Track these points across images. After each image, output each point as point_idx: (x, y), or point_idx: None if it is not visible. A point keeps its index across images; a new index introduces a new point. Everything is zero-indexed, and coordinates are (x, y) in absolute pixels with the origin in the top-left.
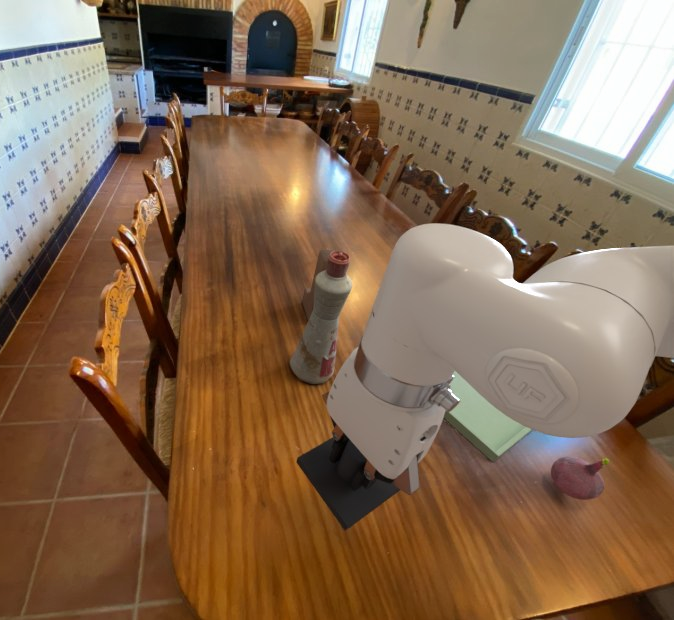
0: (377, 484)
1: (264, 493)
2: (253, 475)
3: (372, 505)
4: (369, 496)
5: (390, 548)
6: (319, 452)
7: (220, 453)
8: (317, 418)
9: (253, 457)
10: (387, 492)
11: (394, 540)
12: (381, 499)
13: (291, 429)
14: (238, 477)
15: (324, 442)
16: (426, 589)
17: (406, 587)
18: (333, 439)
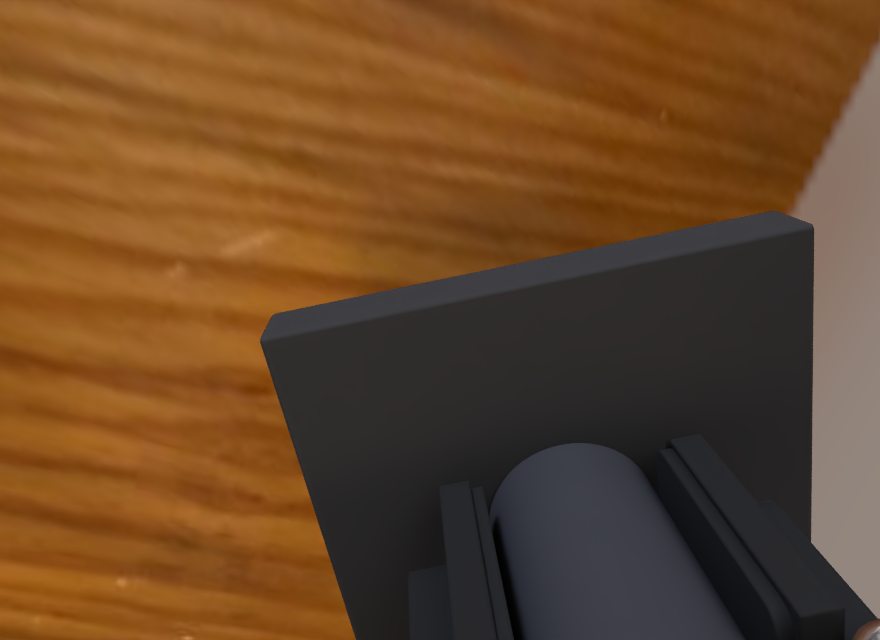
0: (720, 393)
1: None
2: (257, 471)
3: (801, 488)
4: (752, 475)
5: (657, 97)
6: (395, 621)
7: (146, 555)
8: (24, 99)
9: (185, 453)
10: (789, 358)
11: (643, 61)
12: (803, 420)
13: (75, 260)
14: (252, 519)
15: (335, 565)
16: (812, 47)
17: (772, 118)
18: (330, 505)
